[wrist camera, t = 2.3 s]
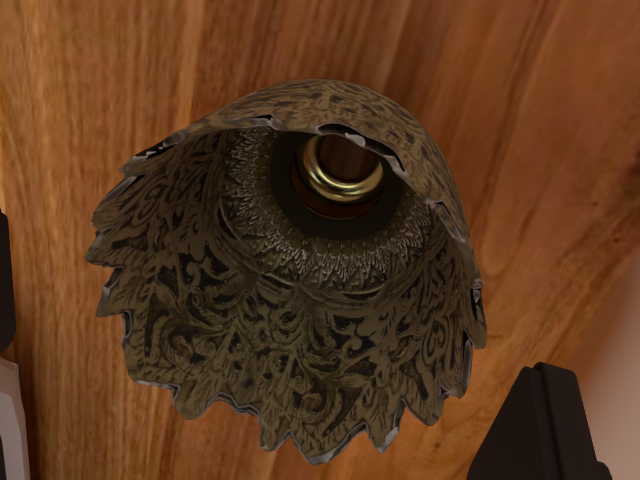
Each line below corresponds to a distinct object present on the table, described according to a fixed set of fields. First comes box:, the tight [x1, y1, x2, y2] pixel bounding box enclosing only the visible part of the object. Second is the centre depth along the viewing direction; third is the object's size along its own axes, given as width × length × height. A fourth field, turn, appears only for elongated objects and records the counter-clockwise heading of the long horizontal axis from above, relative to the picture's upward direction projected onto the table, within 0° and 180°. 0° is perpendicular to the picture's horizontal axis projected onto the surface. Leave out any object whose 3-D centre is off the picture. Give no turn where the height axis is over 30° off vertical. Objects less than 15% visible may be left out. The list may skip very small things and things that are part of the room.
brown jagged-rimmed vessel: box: [85, 79, 487, 466], centre depth 14 cm, size 8×7×8 cm
